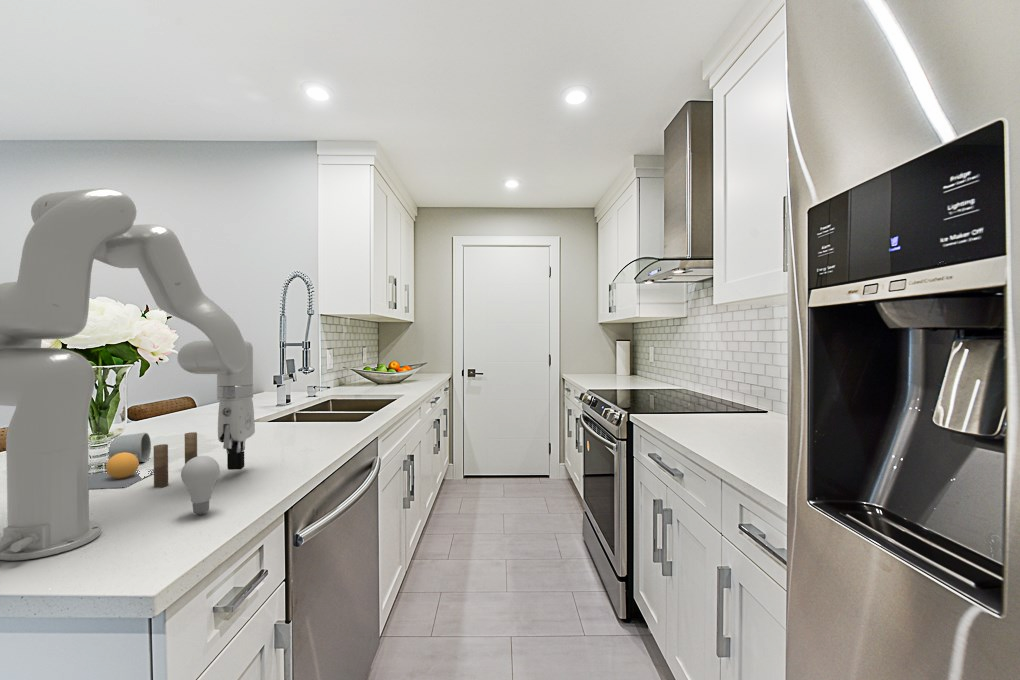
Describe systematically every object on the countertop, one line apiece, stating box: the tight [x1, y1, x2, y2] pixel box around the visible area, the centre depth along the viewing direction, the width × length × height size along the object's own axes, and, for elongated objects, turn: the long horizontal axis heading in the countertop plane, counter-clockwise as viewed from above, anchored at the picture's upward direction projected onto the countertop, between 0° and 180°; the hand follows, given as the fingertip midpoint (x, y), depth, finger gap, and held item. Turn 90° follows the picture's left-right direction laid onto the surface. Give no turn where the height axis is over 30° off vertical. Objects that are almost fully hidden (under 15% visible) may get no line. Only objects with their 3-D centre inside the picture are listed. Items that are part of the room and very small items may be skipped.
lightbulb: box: [180, 455, 221, 516], centre depth 90 cm, size 6×6×11 cm
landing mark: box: [89, 468, 154, 490], centre depth 111 cm, size 14×14×1 cm
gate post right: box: [184, 431, 198, 465], centre depth 120 cm, size 3×3×9 cm
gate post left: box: [153, 443, 169, 488], centre depth 107 cm, size 3×3×9 cm
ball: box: [105, 452, 140, 479], centre depth 112 cm, size 6×6×6 cm
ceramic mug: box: [108, 432, 152, 463], centre depth 124 cm, size 11×8×8 cm
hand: (236, 468), depth 115 cm, fingers closed
